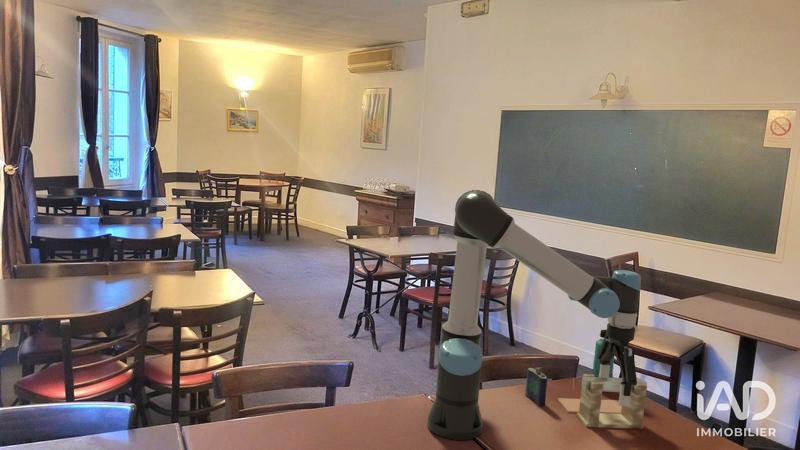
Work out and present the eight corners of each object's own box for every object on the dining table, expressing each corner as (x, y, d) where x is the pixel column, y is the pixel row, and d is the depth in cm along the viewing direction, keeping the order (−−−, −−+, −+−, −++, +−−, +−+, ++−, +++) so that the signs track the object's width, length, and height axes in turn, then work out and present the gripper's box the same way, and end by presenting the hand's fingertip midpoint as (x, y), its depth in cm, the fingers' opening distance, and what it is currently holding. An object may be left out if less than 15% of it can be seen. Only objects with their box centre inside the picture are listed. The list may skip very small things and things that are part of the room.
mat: (567, 412, 174) (568, 411, 173) (557, 399, 182) (557, 398, 182) (634, 414, 175) (634, 413, 175) (621, 401, 184) (621, 400, 184)
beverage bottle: (613, 392, 191) (620, 334, 188) (593, 391, 191) (600, 333, 188) (607, 384, 197) (614, 328, 194) (587, 383, 197) (594, 327, 195)
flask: (523, 394, 185) (526, 362, 183) (531, 393, 186) (534, 361, 184) (539, 407, 176) (543, 373, 175) (548, 406, 177) (551, 373, 176)
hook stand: (586, 427, 165) (591, 383, 163) (576, 415, 172) (581, 374, 170) (643, 428, 166) (648, 385, 165) (631, 417, 173) (636, 375, 171)
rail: (585, 390, 165) (586, 380, 165) (581, 386, 168) (582, 376, 168) (645, 392, 167) (646, 382, 167) (640, 388, 170) (641, 378, 170)
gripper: (656, 339, 153) (646, 415, 156) (614, 312, 178) (606, 378, 181) (629, 338, 152) (619, 414, 155) (591, 311, 177) (583, 377, 180)
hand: (612, 395), depth 168 cm, fingers open, 13 cm apart
